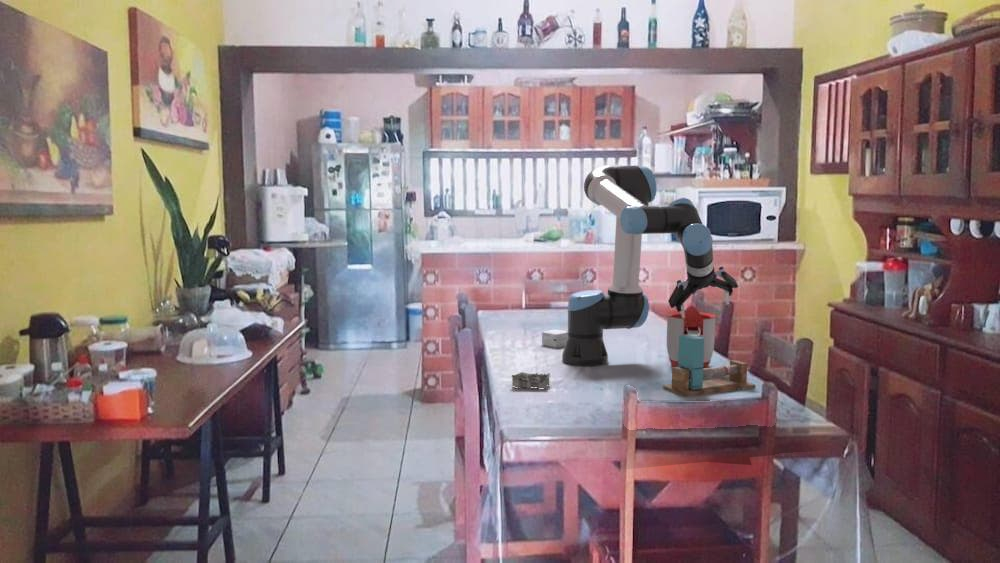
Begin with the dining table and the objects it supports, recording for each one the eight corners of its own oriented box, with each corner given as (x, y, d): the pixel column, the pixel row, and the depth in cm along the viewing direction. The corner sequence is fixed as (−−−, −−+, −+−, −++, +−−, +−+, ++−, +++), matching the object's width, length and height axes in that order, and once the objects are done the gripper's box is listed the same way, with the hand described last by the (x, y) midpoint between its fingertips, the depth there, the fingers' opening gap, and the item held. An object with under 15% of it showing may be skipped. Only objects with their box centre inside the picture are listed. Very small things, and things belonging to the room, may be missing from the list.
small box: (541, 344, 280) (541, 331, 279) (556, 342, 285) (556, 328, 284) (555, 348, 274) (556, 334, 273) (571, 345, 279) (571, 331, 278)
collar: (692, 389, 210) (694, 339, 208) (677, 384, 216) (679, 335, 214) (702, 388, 211) (704, 338, 210) (687, 383, 217) (688, 334, 216)
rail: (685, 396, 207) (686, 373, 206) (663, 388, 216) (663, 365, 215) (755, 387, 217) (756, 364, 217) (731, 379, 226) (732, 358, 226)
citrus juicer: (667, 372, 236) (669, 309, 234) (663, 360, 253) (664, 301, 251) (718, 373, 234) (720, 310, 232) (710, 361, 251) (712, 302, 249)
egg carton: (509, 389, 216) (509, 375, 216) (516, 382, 224) (516, 369, 223) (546, 391, 213) (546, 377, 213) (551, 385, 221) (551, 371, 220)
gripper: (661, 290, 210) (668, 330, 226) (748, 263, 207) (749, 305, 224) (652, 270, 214) (660, 310, 231) (738, 243, 212) (740, 285, 228)
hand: (704, 308), depth 227 cm, fingers open, 13 cm apart
